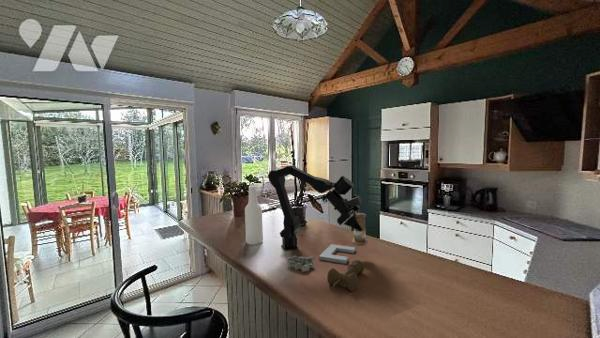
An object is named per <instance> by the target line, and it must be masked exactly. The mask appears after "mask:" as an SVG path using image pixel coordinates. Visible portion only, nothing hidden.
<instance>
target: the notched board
mask: <svg viewBox="0 0 600 338" xmlns="http://www.w3.org/2000/svg"><path fill="white" fill-rule="evenodd" d="M336 252H340V253H341V252H342V253H348V254H349V253H350V254H355V252H356V247H355V246H348V245H340V244H334V243H333V244H332V243H331V244H329V246H328V247H326V249H325V250H323V252H322V253H321V254H319V256H318V259H319V260H320V261H326V262H333V263H338V264H344V265H345V264H348V262H349V256H343V255H337V254H336Z"/></svg>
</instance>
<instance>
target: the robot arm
mask: <svg viewBox="0 0 600 338" xmlns="http://www.w3.org/2000/svg"><path fill="white" fill-rule="evenodd" d="M289 175H290V176H291V177H294V178H296V179H298V180H299V181H302V182H304V183H306V184H308V185H309V186H310V187H311V188H312V189H313V190H314V191H316V192H317V193H319V194H322V196H321V197H322V199H321V201H322V202H325V201H326V200H327V201H328V202H329V203H330V204H331V206H333V210H334V211H337V212H338V213H339V214H340V215H339V217H338V218H337V219H336V222H337V224H338V225H339V226H342V225H345V226H348V227H350V228H353V229H354V228H355V229H357V230H359V231H361V230H362V228H361V226H360V225H359V224H358V222H357V221H356V220H355V214H354V213H360V208H361V206H360V205H361V204H362V203H363V202H362V197H360V195H357V194H354V195H353V196H352V198H351V199H348V198H344V197H343V196H346V195H347V194H348V193H349V192H350V191H351V190H352V189H353V188H354V186H355V184H354V183H353V182H352V181H351V179H348V178H347V177H345V176H344V175H342V176H340V177H339V179H337V181H336V182H332V181H331V180H329V179H326V178H323V177H319V176H314V175H312V174H310V173H309V172H306V171H304V170H302V169H301V168H298V167H296V166H295V165H293V164H290V165H286V166H285V167H282V168H279V169H273V170H270V171H269V172H268V174H267V178H268V180H269V183H270V184H271V186H272V187H273V188H274V189H275V192H276V196H277V198H278V201H279V204H280V207H281V211H282V214H283V222H282V223H283V229H282V230H280V232H279V235H280V238H282V239H281V241H282V243H281V245H280V246H281V248H283V250H285V251H289V250H294V249H298V237H297V233H298V231H299V230H300V228H301V224H302V222H301V220H300V216H299V215H297V216H296V214H295V213H294V212H293V208H292V205H291V202H290V199H289V196H288V192H287V189H286V186H285V185H286V177H287V176H289ZM325 193H326V194H325ZM342 195H343V196H342ZM353 214H354V215H353Z"/></svg>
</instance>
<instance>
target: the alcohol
mask: <svg viewBox="0 0 600 338" xmlns="http://www.w3.org/2000/svg"><path fill="white" fill-rule="evenodd" d="M244 221H245V224H244V225H245V243H246V244H247V245H249V246H257V245H260V244H262V243H263V241H264V232H263V231H264V230H263V229H264V228H263V210H262V206H261V204H260V203H259V201H258V194H257V186H256V185H249V186H248V203H247V204H246V206H245V207H244Z"/></svg>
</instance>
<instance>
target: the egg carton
mask: <svg viewBox="0 0 600 338" xmlns="http://www.w3.org/2000/svg"><path fill="white" fill-rule="evenodd" d="M286 260H287V267H288V268H289V269H290V268H294V270H301V272H309V271H310V269H313V268H314V260H315V257H314V256H308V257H307V256H297V255H295V254H294V255H292V256H290V257H288V258H286Z"/></svg>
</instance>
